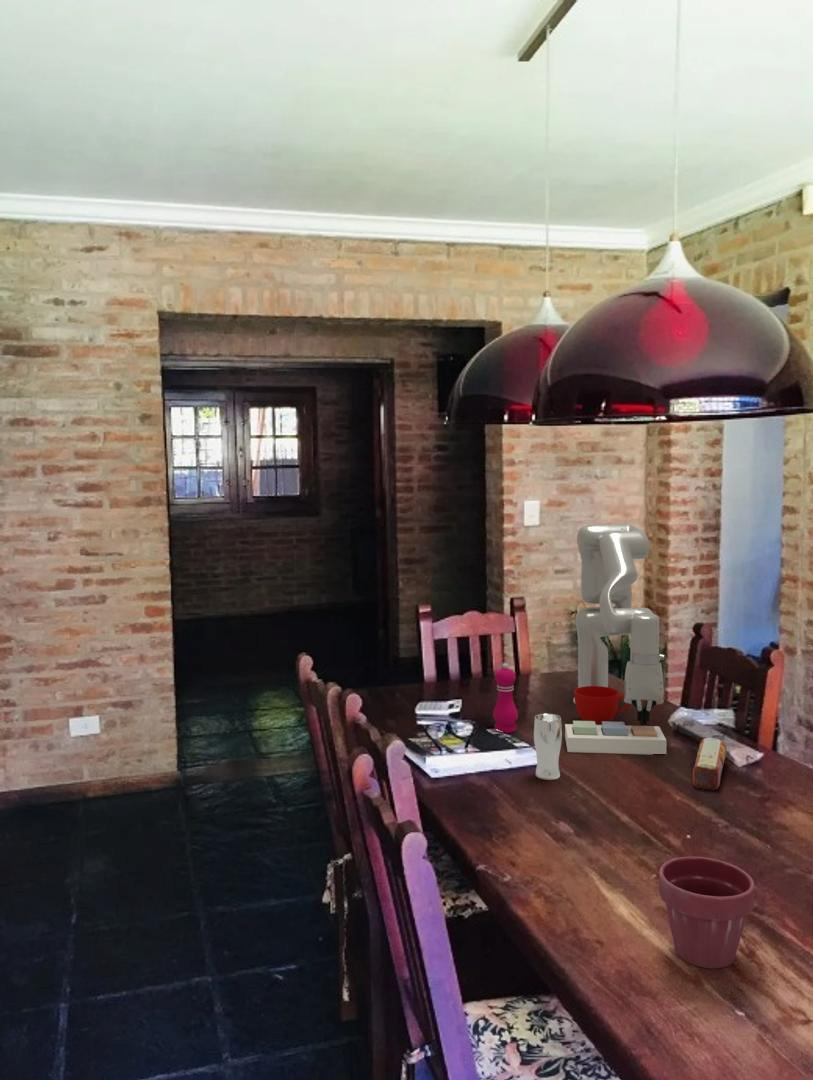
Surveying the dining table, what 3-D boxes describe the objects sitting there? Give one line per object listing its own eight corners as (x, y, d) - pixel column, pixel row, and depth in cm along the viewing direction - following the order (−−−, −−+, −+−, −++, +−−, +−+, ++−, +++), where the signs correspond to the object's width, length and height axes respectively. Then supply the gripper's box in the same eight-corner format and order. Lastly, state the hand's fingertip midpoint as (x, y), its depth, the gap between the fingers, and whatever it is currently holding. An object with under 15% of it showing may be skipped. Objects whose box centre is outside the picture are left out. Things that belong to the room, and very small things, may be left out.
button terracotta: (631, 734, 234) (631, 725, 234) (653, 735, 234) (653, 726, 233) (634, 741, 228) (634, 732, 228) (656, 742, 228) (656, 733, 227)
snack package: (719, 793, 199) (720, 765, 198) (690, 789, 202) (691, 761, 201) (726, 763, 218) (726, 738, 217) (699, 760, 221) (699, 735, 220)
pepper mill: (509, 735, 243) (509, 667, 241) (488, 730, 247) (488, 664, 246) (522, 728, 249) (522, 662, 247) (501, 724, 253) (500, 659, 251)
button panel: (565, 737, 240) (565, 724, 240) (658, 740, 237) (658, 726, 236) (567, 752, 228) (567, 737, 228) (666, 754, 225) (666, 740, 224)
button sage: (572, 729, 236) (572, 720, 236) (594, 729, 236) (594, 721, 235) (574, 736, 230) (574, 727, 230) (596, 736, 230) (596, 727, 229)
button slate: (601, 730, 235) (602, 721, 235) (623, 730, 235) (623, 721, 234) (604, 736, 229) (604, 728, 229) (626, 737, 229) (626, 728, 228)
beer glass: (529, 778, 210) (529, 719, 208) (539, 769, 216) (539, 712, 214) (556, 782, 206) (557, 723, 205) (565, 773, 213) (565, 715, 211)
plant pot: (723, 924, 142) (724, 851, 141) (771, 973, 128) (773, 893, 127) (643, 932, 140) (644, 858, 139) (683, 983, 126) (685, 902, 125)
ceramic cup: (636, 730, 246) (637, 697, 245) (578, 731, 246) (578, 697, 245) (626, 717, 258) (626, 685, 258) (570, 717, 259) (571, 686, 258)
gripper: (670, 655, 232) (668, 720, 234) (614, 654, 234) (613, 718, 236) (675, 662, 225) (673, 729, 227) (618, 661, 227) (617, 727, 228)
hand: (643, 723), depth 231 cm, fingers closed
